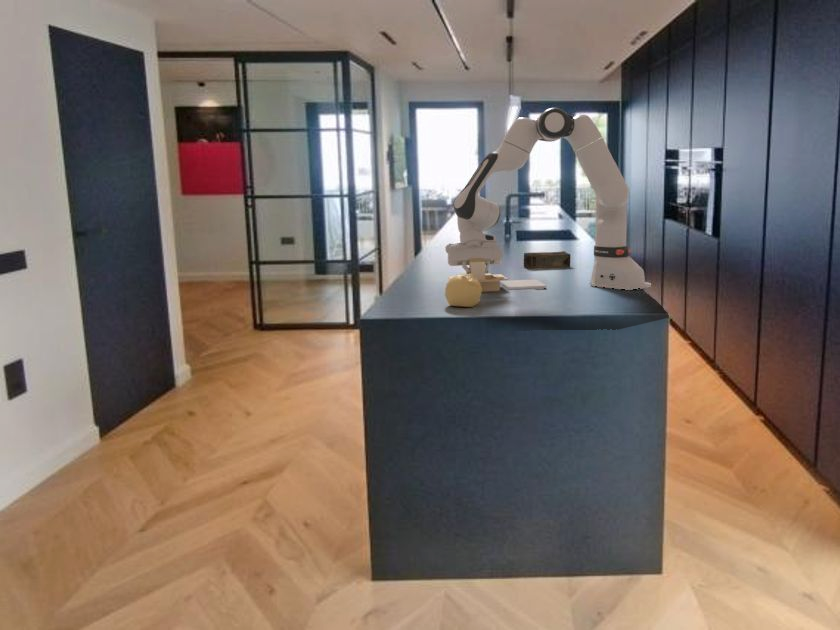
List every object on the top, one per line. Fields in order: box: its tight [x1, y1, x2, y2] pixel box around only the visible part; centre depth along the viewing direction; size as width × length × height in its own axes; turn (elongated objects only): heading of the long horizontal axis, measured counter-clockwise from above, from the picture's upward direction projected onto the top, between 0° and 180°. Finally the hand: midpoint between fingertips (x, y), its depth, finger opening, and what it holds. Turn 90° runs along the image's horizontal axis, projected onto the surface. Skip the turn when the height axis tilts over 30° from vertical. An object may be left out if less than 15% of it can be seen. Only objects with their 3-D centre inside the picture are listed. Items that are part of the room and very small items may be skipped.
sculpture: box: [444, 272, 483, 308], centre depth 245 cm, size 11×12×11 cm
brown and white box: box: [468, 258, 486, 280], centre depth 273 cm, size 5×5×11 cm
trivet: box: [500, 278, 547, 290], centre depth 279 cm, size 14×14×1 cm
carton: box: [447, 272, 509, 293], centre depth 273 cm, size 17×20×4 cm
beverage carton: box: [523, 250, 571, 270], centre depth 323 cm, size 8×19×7 cm, turn 98°
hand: (477, 272), depth 272 cm, fingers closed on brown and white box, 5 cm apart
